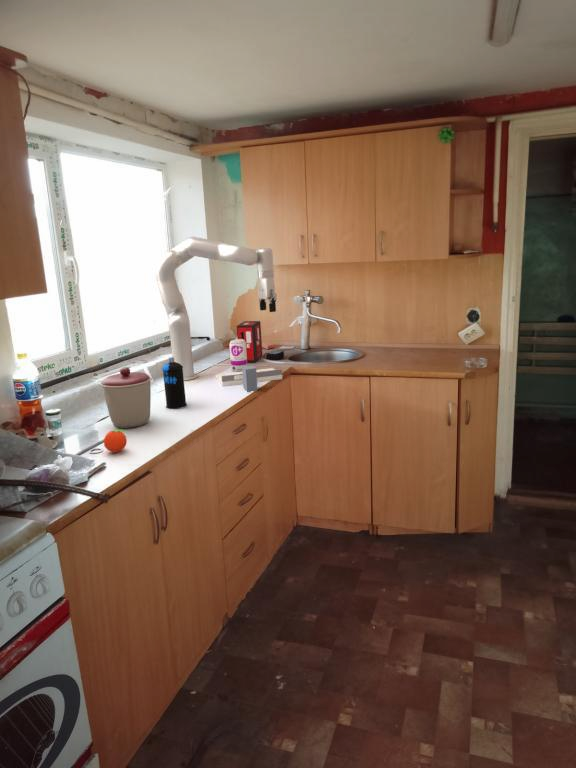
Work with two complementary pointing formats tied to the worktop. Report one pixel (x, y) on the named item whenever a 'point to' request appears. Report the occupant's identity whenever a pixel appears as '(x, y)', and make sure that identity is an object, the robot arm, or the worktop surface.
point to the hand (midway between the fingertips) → (267, 310)
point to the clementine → (115, 441)
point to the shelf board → (238, 376)
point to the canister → (128, 398)
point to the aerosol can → (174, 385)
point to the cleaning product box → (251, 339)
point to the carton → (249, 378)
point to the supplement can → (238, 354)
